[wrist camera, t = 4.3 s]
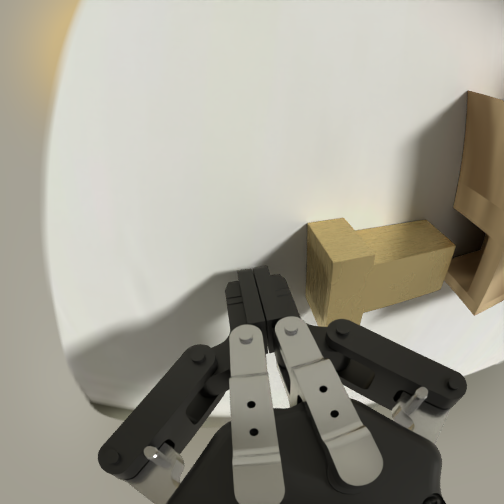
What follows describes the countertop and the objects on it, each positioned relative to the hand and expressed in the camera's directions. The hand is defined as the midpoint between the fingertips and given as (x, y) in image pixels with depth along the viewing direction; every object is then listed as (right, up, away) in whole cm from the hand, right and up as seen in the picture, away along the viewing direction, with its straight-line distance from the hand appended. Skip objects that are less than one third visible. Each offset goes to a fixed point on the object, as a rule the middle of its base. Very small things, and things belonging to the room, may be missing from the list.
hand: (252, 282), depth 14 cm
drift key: (+7, +2, +1) cm, 7 cm away
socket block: (+19, +6, 0) cm, 20 cm away
